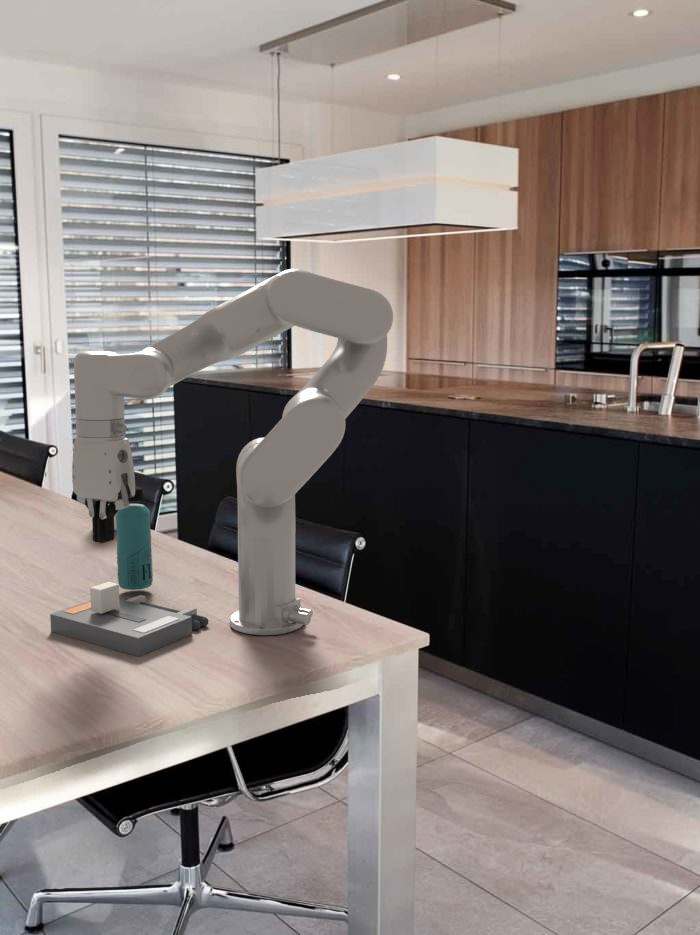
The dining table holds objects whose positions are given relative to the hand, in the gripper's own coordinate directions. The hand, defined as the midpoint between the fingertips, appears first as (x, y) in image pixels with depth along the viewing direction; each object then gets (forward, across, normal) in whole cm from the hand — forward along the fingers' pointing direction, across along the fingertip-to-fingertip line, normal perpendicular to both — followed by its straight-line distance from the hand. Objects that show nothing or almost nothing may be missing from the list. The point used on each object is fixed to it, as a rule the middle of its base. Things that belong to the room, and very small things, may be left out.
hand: (103, 540), depth 155 cm
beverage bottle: (+15, +10, -17) cm, 25 cm away
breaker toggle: (+12, 0, 0) cm, 12 cm away
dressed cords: (+15, -3, -9) cm, 18 cm away
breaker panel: (+15, -3, 0) cm, 15 cm away
